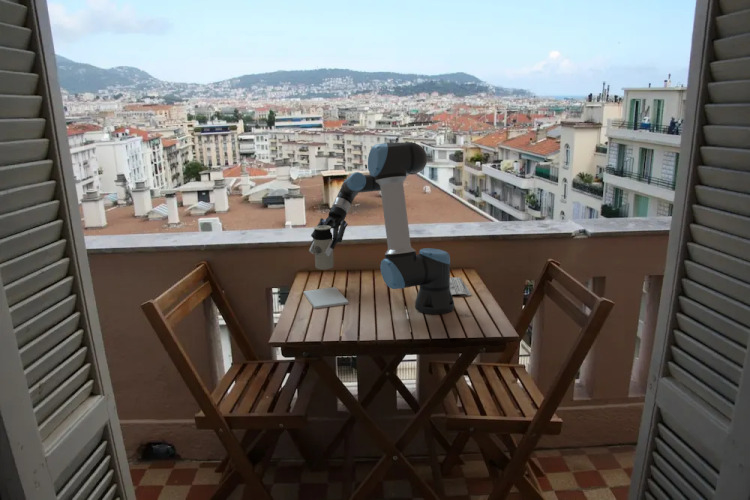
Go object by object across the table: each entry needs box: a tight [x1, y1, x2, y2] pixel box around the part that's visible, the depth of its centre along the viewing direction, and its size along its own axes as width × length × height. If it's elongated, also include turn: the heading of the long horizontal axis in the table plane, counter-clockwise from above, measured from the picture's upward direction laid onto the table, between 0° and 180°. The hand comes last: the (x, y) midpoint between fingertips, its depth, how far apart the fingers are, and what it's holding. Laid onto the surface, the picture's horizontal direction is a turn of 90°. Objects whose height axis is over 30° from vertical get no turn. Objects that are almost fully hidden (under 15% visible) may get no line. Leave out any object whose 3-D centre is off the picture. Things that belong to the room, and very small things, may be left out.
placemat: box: [303, 286, 349, 310], centre depth 229 cm, size 20×14×1 cm
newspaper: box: [450, 276, 472, 298], centre depth 239 cm, size 23×12×2 cm, turn 178°
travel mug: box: [313, 225, 335, 270], centre depth 240 cm, size 8×8×18 cm
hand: (318, 253), depth 238 cm, fingers closed on travel mug, 8 cm apart
